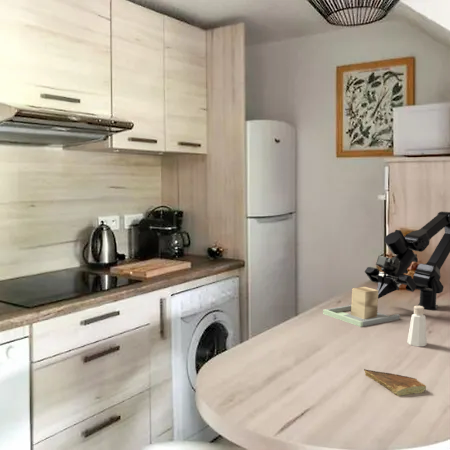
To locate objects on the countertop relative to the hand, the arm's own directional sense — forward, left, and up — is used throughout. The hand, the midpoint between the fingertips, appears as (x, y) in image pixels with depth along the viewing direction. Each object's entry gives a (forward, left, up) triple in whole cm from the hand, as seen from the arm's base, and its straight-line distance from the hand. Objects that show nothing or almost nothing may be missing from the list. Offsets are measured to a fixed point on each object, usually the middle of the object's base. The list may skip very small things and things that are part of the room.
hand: (376, 297), depth 181 cm
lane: (+6, -3, -7) cm, 10 cm away
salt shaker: (+23, +17, -7) cm, 29 cm away
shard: (+58, +16, -7) cm, 61 cm away
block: (+5, -3, -5) cm, 8 cm away
